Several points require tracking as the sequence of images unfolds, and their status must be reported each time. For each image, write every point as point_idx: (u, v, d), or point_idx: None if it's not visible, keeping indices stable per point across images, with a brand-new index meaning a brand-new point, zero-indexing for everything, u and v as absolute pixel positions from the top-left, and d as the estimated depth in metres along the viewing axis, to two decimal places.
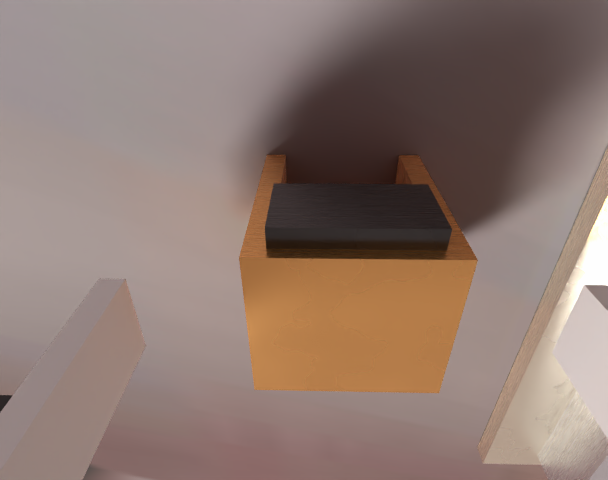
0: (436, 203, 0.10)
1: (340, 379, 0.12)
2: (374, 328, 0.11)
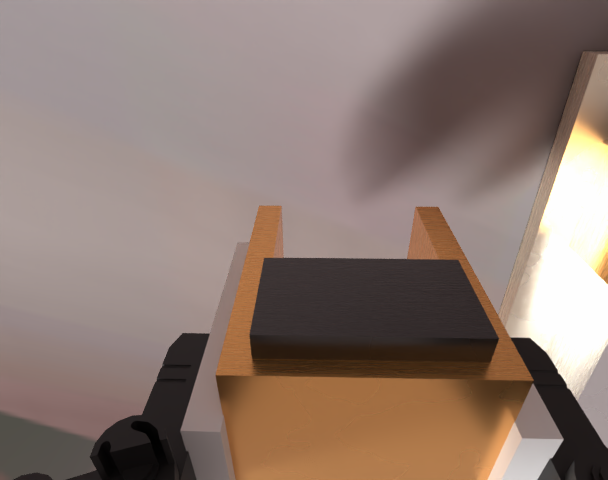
0: (472, 292, 0.08)
1: None
2: (393, 450, 0.08)
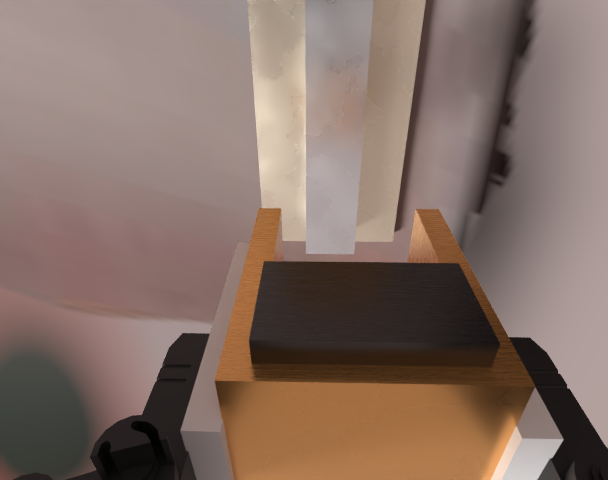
0: (473, 296, 0.08)
1: None
2: (393, 456, 0.08)
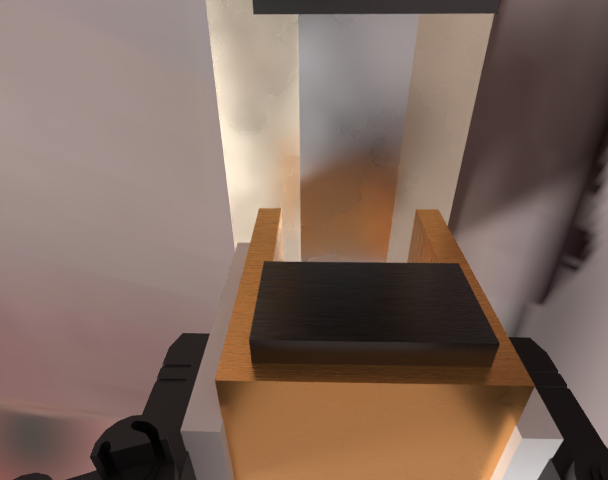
0: (473, 296, 0.08)
1: None
2: (393, 455, 0.08)
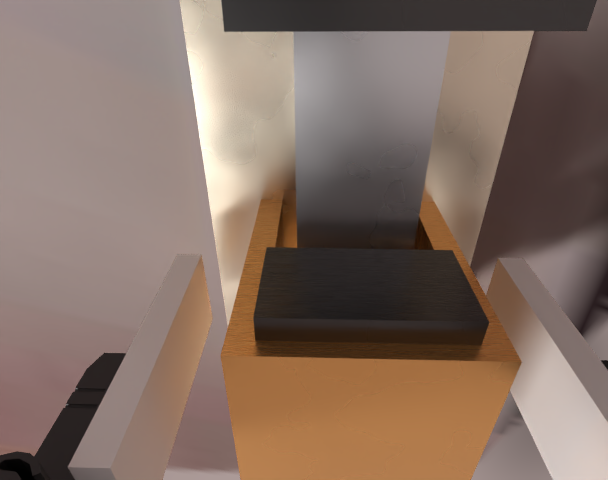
0: (465, 280, 0.08)
1: None
2: (389, 431, 0.09)
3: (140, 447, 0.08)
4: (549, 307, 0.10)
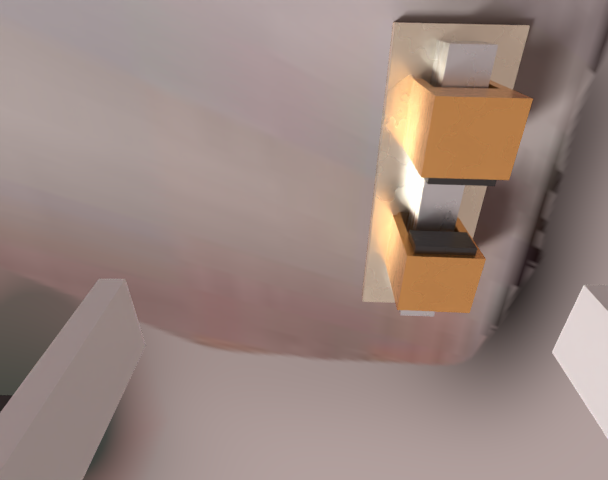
0: (470, 239, 0.30)
1: (432, 305, 0.31)
2: (448, 283, 0.30)
3: None
4: None
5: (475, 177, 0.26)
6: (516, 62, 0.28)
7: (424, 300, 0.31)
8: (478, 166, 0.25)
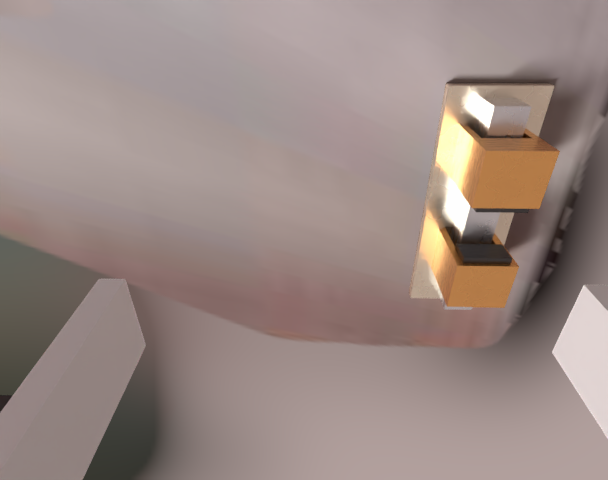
0: (506, 251, 0.38)
1: (474, 302, 0.39)
2: (488, 285, 0.38)
3: None
4: None
5: (513, 207, 0.33)
6: (543, 112, 0.36)
7: (469, 298, 0.39)
8: (516, 199, 0.33)
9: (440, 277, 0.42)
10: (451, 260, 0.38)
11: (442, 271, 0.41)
